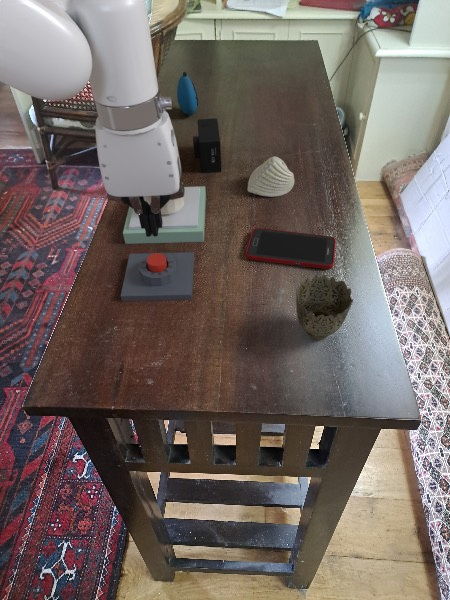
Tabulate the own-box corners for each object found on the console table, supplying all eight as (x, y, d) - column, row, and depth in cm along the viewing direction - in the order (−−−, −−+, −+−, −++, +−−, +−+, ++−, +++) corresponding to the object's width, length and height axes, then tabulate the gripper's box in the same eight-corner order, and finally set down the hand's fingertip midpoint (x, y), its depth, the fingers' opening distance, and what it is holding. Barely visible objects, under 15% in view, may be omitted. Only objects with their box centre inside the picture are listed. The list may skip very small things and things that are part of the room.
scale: (125, 244, 81) (122, 230, 79) (135, 198, 91) (132, 185, 89) (204, 242, 81) (202, 228, 79) (205, 196, 90) (205, 183, 88)
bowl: (145, 217, 81) (141, 197, 78) (149, 195, 86) (146, 175, 83) (183, 216, 81) (181, 196, 78) (185, 194, 86) (183, 174, 83)
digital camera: (194, 149, 104) (191, 119, 98) (218, 147, 104) (217, 117, 99) (195, 173, 96) (193, 142, 91) (221, 171, 97) (220, 140, 91)
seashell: (308, 179, 89) (285, 175, 83) (279, 208, 94) (256, 206, 88) (287, 148, 92) (264, 142, 86) (260, 178, 97) (236, 174, 91)
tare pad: (121, 301, 71) (118, 287, 69) (130, 258, 78) (127, 245, 76) (192, 299, 71) (190, 286, 69) (194, 257, 78) (193, 243, 76)
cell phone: (252, 231, 82) (252, 227, 82) (335, 241, 80) (336, 236, 79) (244, 259, 77) (244, 255, 76) (332, 270, 75) (333, 266, 74)
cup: (290, 312, 69) (295, 273, 63) (340, 313, 68) (349, 274, 63) (292, 351, 64) (297, 314, 58) (346, 353, 63) (356, 315, 58)
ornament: (203, 118, 114) (200, 76, 106) (185, 121, 112) (181, 79, 105) (191, 105, 119) (188, 64, 112) (175, 108, 118) (170, 67, 110)
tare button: (147, 273, 72) (145, 265, 71) (149, 260, 74) (147, 253, 73) (166, 272, 72) (165, 265, 71) (167, 260, 74) (166, 252, 73)
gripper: (193, 92, 57) (204, 213, 70) (74, 98, 57) (107, 217, 71) (190, 121, 52) (202, 245, 65) (59, 126, 52) (98, 249, 65)
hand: (153, 230), depth 68 cm, fingers closed
